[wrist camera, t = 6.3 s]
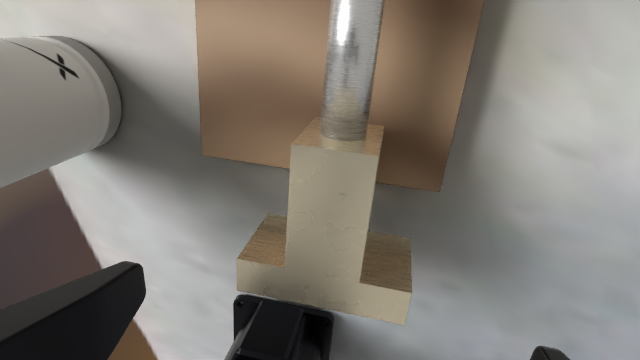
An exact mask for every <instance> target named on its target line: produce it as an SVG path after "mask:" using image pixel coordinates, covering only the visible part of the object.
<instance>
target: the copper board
mask: <svg viewBox="0 0 640 360" xmlns="http://www.w3.org/2000/svg"><path fill="white" fill-rule="evenodd" d="M330 3H331V0H195V11H196V33H197V56H198V78H199V101H200V123H201V146H202V155H204V156H210V157H217V158H223V159H230V160H236V161H243V162H249V163H255V164H262V165H268V166H275V167H281V168H288V169H290V158H291V143H292V142H293V141H294V140H295V139H296V138H297V137H298V136H299V135H300V134H301V132H302V131H303V130H304V129H305V128H306V127H307V126H308V125H309V124H310V123H311V121H312V120H313V119H314V118H315V117H321V109H322V97H323V86H324V74H325V62H326V50H327V39H328V27H329V15H330ZM483 3H484V0H385V3H384V11H383V18H382V25H381V33H380V40H379V47H378V55H377V62H376V69H375V76H374V84H373V91H372V98H371V106H370V113H369V120H368V124H373V125H381V126H384V132H383V139H382V145H381V152H380V158H379V164H378V171H377V177H376V182H377V183H384V184H390V185H397V186H403V187H410V188H416V189H422V190H429V191H435V192H440V189H441V185H442V180H443V176H444V172H445V167H446V163H447V159H448V154H449V150H450V146H451V141H452V137H453V133H454V128H455V124H456V120H457V116H458V111H459V107H460V103H461V98H462V94H463V90H464V85H465V81H466V77H467V72H468V68H469V64H470V59H471V55H472V51H473V46H474V42H475V38H476V34H477V29H478V25H479V21H480V16H481V12H482V8H483Z"/></svg>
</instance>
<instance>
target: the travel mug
mask: <svg viewBox="0 0 640 360" xmlns="http://www.w3.org/2000/svg"><path fill="white" fill-rule="evenodd" d="M120 119H121V99H120V94H119V90H118V88H117V85H116V82H115V80H114V78H113V76H112V74H111V72H110V71H109V69H108V68H107V67H106V65H105V64H104V63H103V61H102V60H101V59H100V58H99V57H98V56H97V55H96V54H95V53H94V52H93V51H91V50H90V49H89V48H87V47H86V46H84V45H83V44H81V43H79V42H77V41H75V40H73V39H70V38H66V37H63V36H40V37H30V38H28V37H19V38H0V188H1V187H4V186H6V185H8V184H11V183H13V182H16V181H18V180H20V179H23V178H25V177H27V176H30V175H32V174H35V173H37V172H39V171H42V170H44V169H47V168H49V167H51V166H54V165H56V164H59V163H61V162H63V161H66V160H68V159H71V158H73V157H75V156H78V155H80V154H82V153H85V152H87V151H90V150H92V149H95V148H97V147H99V146H102V145H104V144H105V143H107V142H108V141H109V140H110V139H111V138H112V137H113V136H114V134H115V133H116V131H117V129H118V126H119V124H120Z"/></svg>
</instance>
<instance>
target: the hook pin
mask: <svg viewBox="0 0 640 360" xmlns="http://www.w3.org/2000/svg"><path fill="white" fill-rule="evenodd" d="M384 3H385V0H331V3H330V15H329V27H328V39H327V50H326V62H325V74H324V86H323V97H322V109H321V117H315V118H314V119H313V120H312V121H311V123H310V124H309V125H308V126H307V127H306V128H305V129H304V130H303V131H302V132H301V134H300V135H299V136H298V137H297V138H296V139H295V140H294V141H293V142H292V143H291V158H290V176H289V194H288V212H287V217H286V216H280V215H275V214H268V215H267V216H266V218H265V219H264V221H263V222H262V224H261V225H260V226H259V228H258V229H257V231H256V232H255V234H254V235H253V236H252V238H251V239H250V241H249V242H248V244H247V245H246V246H245V248H244V249H243V251H242V252H241V254H240V255H239V256H238V258H237V290H239V291H243V292H248V293H253V294H258V295H262V296H267V297H272V298H277V299H281V300H286V301H291V302H296V303H301V304H305V305H310V306H315V307H320V308H324V309H329V310H334V311H339V312H343V313H348V314H353V315H358V316H363V317H367V318H372V319H377V320H382V321H386V322H391V323H396V324H401V325H405V321H406V317H407V312H408V308H409V304H410V299H411V295H412V280H411V244H410V238H406V237H400V236H394V235H389V234H383V233H377V232H372V231H368V229H369V222H370V216H371V210H372V203H373V197H374V190H375V184H376V177H377V171H378V164H379V158H380V152H381V145H382V139H383V132H384V126H381V125H373V124H368V120H369V113H370V106H371V98H372V91H373V84H374V76H375V69H376V62H377V55H378V47H379V40H380V33H381V25H382V18H383V11H384Z"/></svg>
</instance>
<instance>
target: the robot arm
mask: <svg viewBox="0 0 640 360" xmlns="http://www.w3.org/2000/svg"><path fill="white" fill-rule="evenodd" d="M145 295H146V287H145V280H144V272H143V267H142V266H141V265H140V264H138V263H133V262H128V261H123V262H120V263H118V264H115V265H113V266H110V267H107V268H105V269H102V270H100V271H97V272H94V273H92V274H89V275H87V276H84V277H82V278H79V279H76V280H74V281H71V282H69V283H66V284H63V285H61V286H58V287H56V288H53V289H51V290H48V291H45V292H43V293H40V294H38V295H35V296H32V297H30V298H27V299H25V300H22V301H19V302H17V303H14V304H12V305H9V306H6V307H4V308H1V309H0V360H107V359H108V358H109V356H110V355H111V353H112V351H113V350H114V348H115V347H116V345H117V344H118V342H119V340H120V339H121V337H122V335H123V334H124V332H125V330H126V328H127V327H128V325H129V323H130V322H131V321H132V319H133V317H134V316H135V314H136V312H137V311H138V309H139V307H140V306H141V304H142V302H143V300H144V298H145ZM241 302H242V303H243V304H242V303H241ZM233 306H234V342H233V344H232V346H231V348H230V350H229V352H228V354H227V356H226V357H225V359H224V360H329V357H330V349H331V341H332V333H333V325H334V317H333V316H332V315H331V314H330V313H327V312H322V311H317V310H313V309H308V308H303V307H298V306H294V305H289V304H284V303H279V302H275V301H270V300H265V299H261V298H256V297H251V296H246V295H238V296H237V297H236V299H235V300H234V303H233ZM323 320H326V321H328V322H325V321H323ZM530 360H570V359H569V358H568V357H567V356H566V355H565V354H564V353H563V352H561V351H560V350H558V349H554V348H549V347H545V346H537V347H536V348H535V350H534V351H533V354H532V356H531V359H530Z"/></svg>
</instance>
